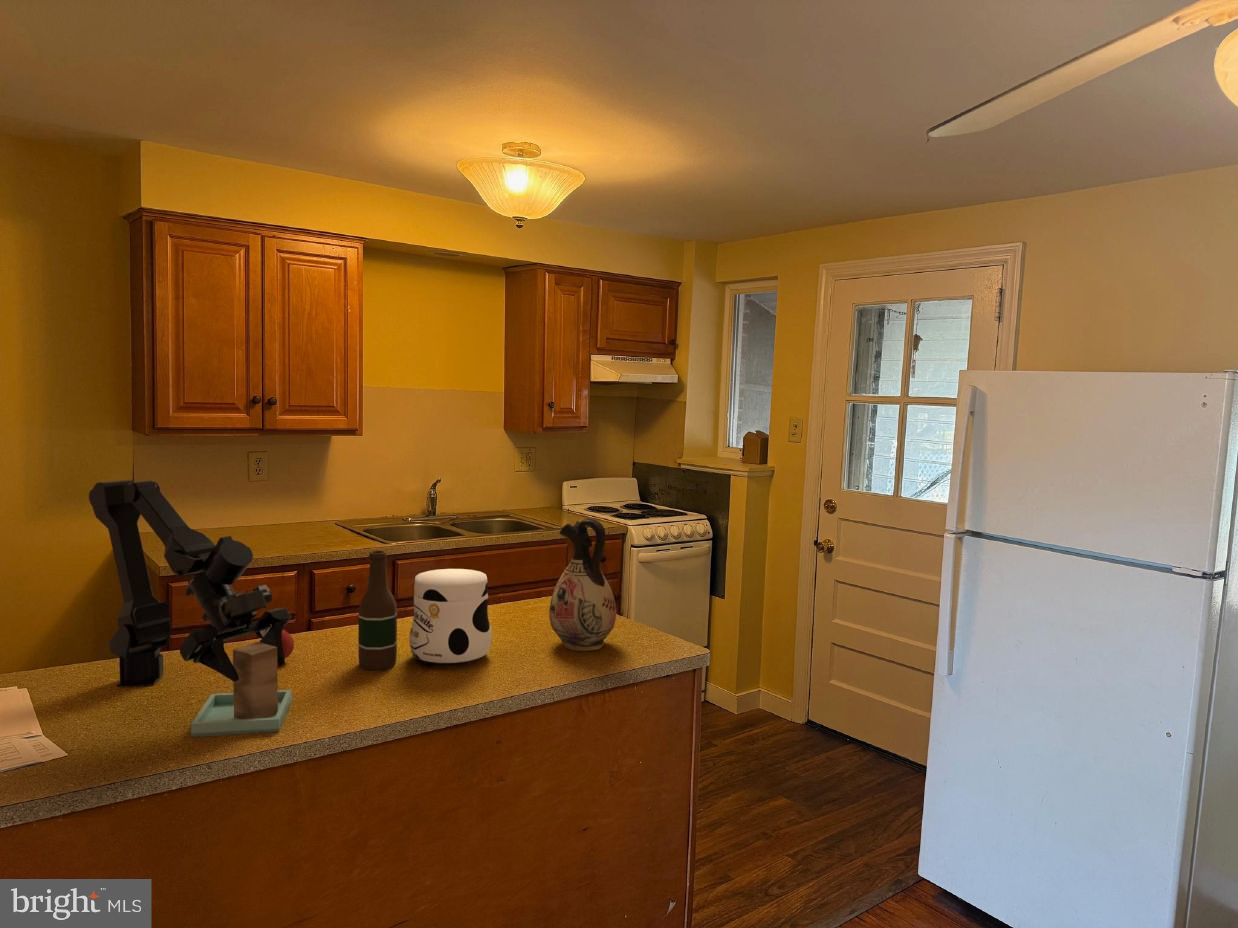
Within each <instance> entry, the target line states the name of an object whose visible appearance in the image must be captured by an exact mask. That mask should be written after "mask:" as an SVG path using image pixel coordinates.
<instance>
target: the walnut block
mask: <svg viewBox="0 0 1238 928" xmlns="http://www.w3.org/2000/svg"><path fill="white" fill-rule="evenodd" d="M232 664H233V666H234V668H235V669H236V671H237V674H238V676H239V679H238V681H237V682H234V681H232V683H233V693H234V717H235V718H238V719H258V718H268V717H271V716H274V715H276V714H277V712H278V691H279V689H278V688H279V687H278V683H279V681H278V664H277V647H275V646H271V645H267V644H264V643H260V641H257V642H254V643H250V644H247V645H244V646H241V647H237V648H233V649H232Z"/></svg>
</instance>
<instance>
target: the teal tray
mask: <svg viewBox="0 0 1238 928" xmlns="http://www.w3.org/2000/svg"><path fill="white" fill-rule="evenodd" d="M292 702H293V689H282V690H281V689H280V690H279V689H278V712H277V714H276V715H274V716H271V717H268V718H258V719H238V718H235V717H234V692H227V693H226V692H222V693H211V694H210V696H209V697H208V698H207V700H206V702H204V704H203V706H202V707H201V709H200V710H199V711H198V713H197V715H195V718H194V719H193V721H192V722H191V724H190V737H191V738H198V737H199V738H200V737H203V738H204V737H217V736H219V737H220V736H231V735H249V734H264V733H279V732H280V731H281V728H282V726H283V724H284V722H285V719H286V717H287V714H288V712H289V710H290V706H291V705H292Z"/></svg>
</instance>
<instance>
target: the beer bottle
mask: <svg viewBox="0 0 1238 928" xmlns="http://www.w3.org/2000/svg"><path fill="white" fill-rule="evenodd" d="M387 557H388V553H387V551H384V550H372V551H371V552H369V554H368V558H369V571H368V584H367V588H366V590H367V591H366V592H365V593H364V595H363V597H362V598H361V601H360V603H359V606H358V615H357V616H358V666H359V667H360V668H362V669H364V670H366V671H384V670H387V669H388V670H389V669H390V668H394V666H395V664H396V662H397V658H398V657H397V654H398V644H397V643H398V609H397V608H398V607H397V606H398V605H397V601H396V599H395V596H394V595H393V593H392V592H391V591H390V589H389V583H388V571H387Z"/></svg>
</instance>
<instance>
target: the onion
mask: <svg viewBox="0 0 1238 928" xmlns="http://www.w3.org/2000/svg"><path fill="white" fill-rule="evenodd" d="M282 645H283V652H284V658H285V660H286V659H287V658H289V657H290V656H291V655H292V653H293V650H294V647H295V641H294V639H293V636H292V635H291V634H290V633H289V632H288V631H287V630H285V629H283V630H282Z"/></svg>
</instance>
